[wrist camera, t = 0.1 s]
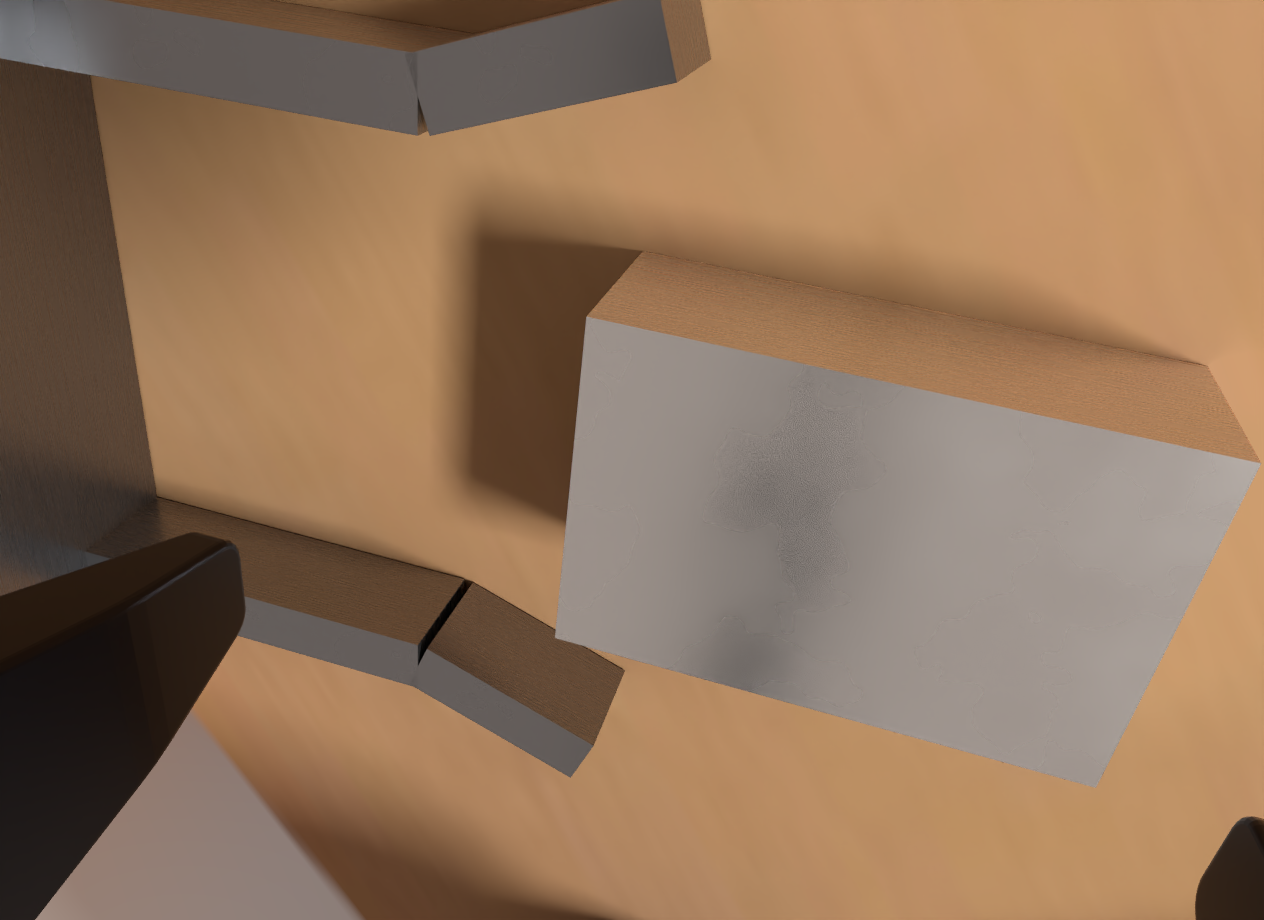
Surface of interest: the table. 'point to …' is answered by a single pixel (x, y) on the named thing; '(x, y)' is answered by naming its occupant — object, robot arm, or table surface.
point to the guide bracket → (102, 345)
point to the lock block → (890, 509)
